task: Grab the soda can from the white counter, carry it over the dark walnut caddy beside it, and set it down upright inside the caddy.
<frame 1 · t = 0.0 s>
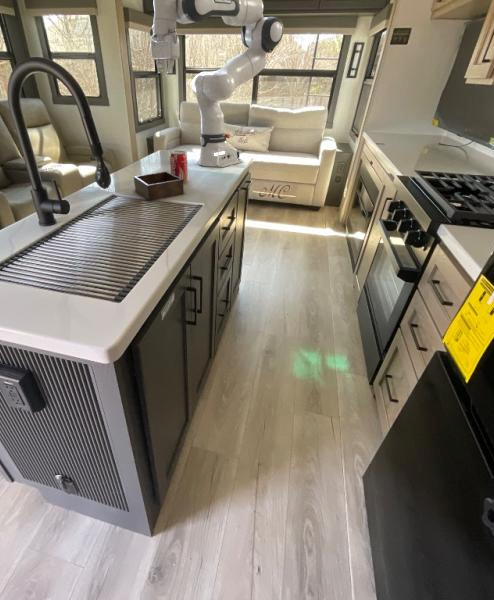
hand: (164, 73, 137), 39 cm above the counter, tool pointing down, fingers open, 8 cm apart
soda can: (179, 182, 143), on the counter
caddy: (159, 192, 131), on the counter
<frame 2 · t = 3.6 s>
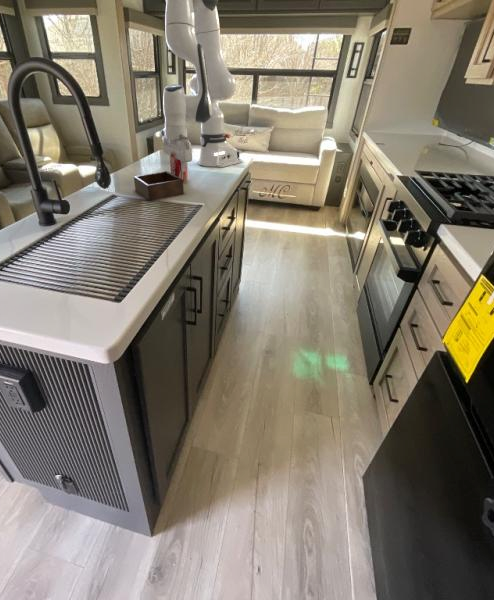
hand: (178, 169, 140), 5 cm above the counter, tool pointing down, fingers closed on soda can, 7 cm apart
soda can: (179, 182, 143), on the counter, touching gripper
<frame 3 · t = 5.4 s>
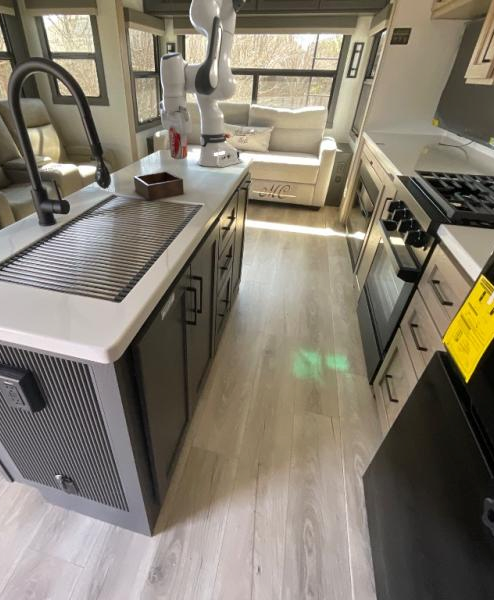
hand: (177, 144, 134), 15 cm above the counter, tool pointing down, fingers closed on soda can, 7 cm apart
soda can: (179, 158, 138), point 9 cm above the counter, touching gripper
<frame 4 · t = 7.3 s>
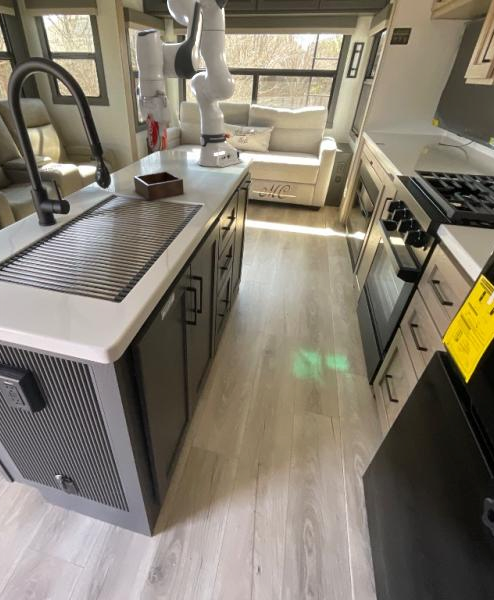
hand: (156, 134, 121), 21 cm above the counter, tool pointing down, fingers closed on soda can, 7 cm apart
soda can: (158, 150, 124), point 15 cm above the counter, touching gripper
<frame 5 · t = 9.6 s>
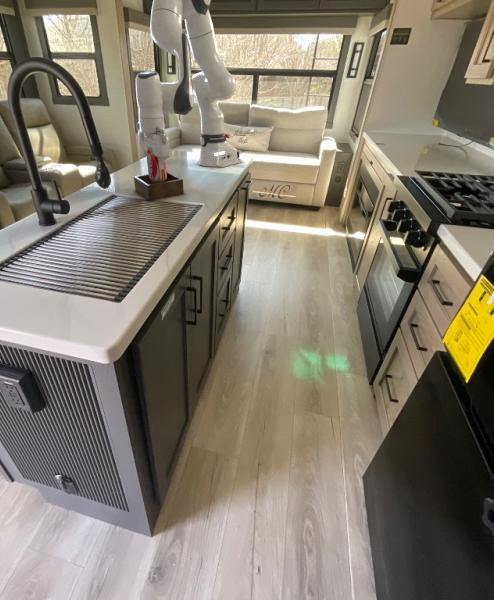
hand: (156, 166, 126), 10 cm above the counter, tool pointing down, fingers closed on soda can, 7 cm apart
soda can: (158, 181, 129), point 4 cm above the counter, touching gripper
when the fingers open (6 cm above the counter, at t = 11.2 s): soda can stays where it is, resting on caddy.
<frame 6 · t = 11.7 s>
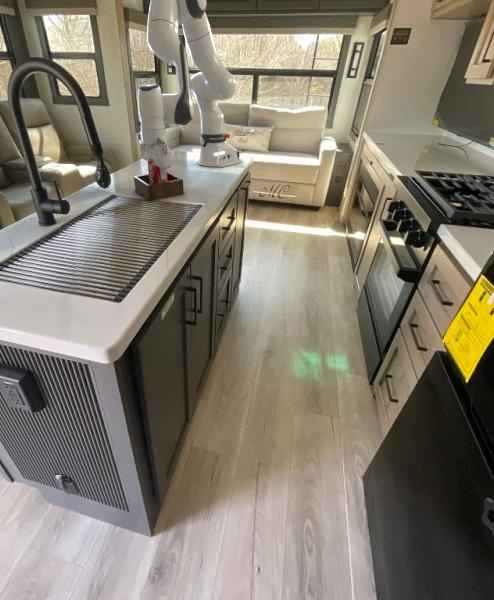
hand: (157, 176, 128), 6 cm above the counter, tool pointing down, fingers open, 8 cm apart
soda can: (159, 191, 131), resting on caddy
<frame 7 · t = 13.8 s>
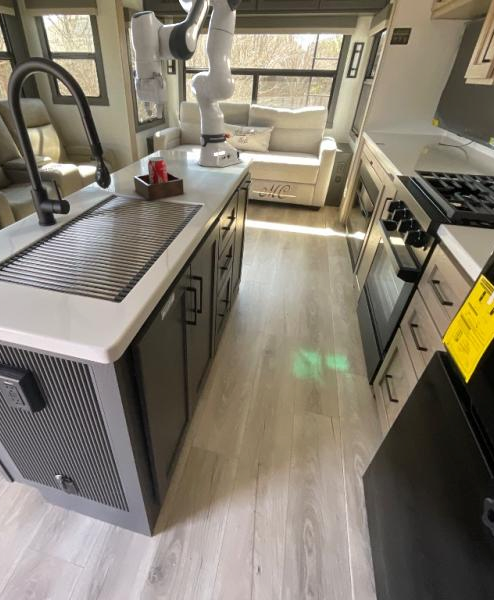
hand: (154, 116, 123), 26 cm above the counter, tool pointing down, fingers open, 8 cm apart
nothing on the counter moved.
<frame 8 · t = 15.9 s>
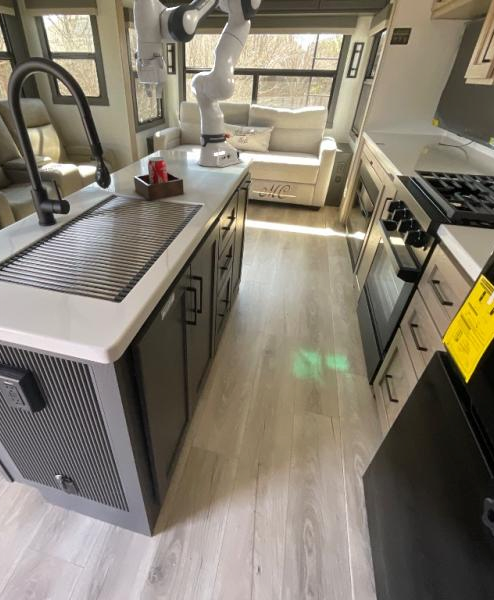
hand: (154, 97, 128), 31 cm above the counter, tool pointing down, fingers open, 8 cm apart
nothing on the counter moved.
at the end: soda can inside the target area in the caddy (0.2 cm from its centre), point 0.4 cm above the caddy's base; soda can tilted 0°; the gripper is holding nothing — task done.
